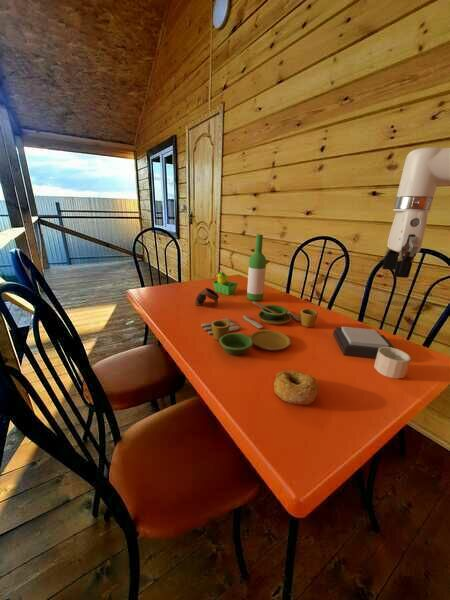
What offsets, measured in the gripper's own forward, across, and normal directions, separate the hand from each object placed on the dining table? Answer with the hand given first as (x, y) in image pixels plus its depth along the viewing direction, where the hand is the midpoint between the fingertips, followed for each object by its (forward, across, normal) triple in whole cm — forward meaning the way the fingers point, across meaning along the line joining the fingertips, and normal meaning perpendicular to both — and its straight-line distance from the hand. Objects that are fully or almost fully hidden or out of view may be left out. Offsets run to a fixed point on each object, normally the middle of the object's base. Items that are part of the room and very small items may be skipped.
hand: (394, 272), depth 69 cm
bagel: (+25, -26, +23) cm, 43 cm away
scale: (+25, +4, +2) cm, 25 cm away
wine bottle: (+26, +37, +42) cm, 62 cm away
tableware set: (+26, +4, +33) cm, 42 cm away
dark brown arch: (+26, +21, +62) cm, 70 cm away
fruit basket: (+26, +42, +59) cm, 77 cm away
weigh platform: (+23, +3, +3) cm, 23 cm away
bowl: (+25, -9, -2) cm, 27 cm away
